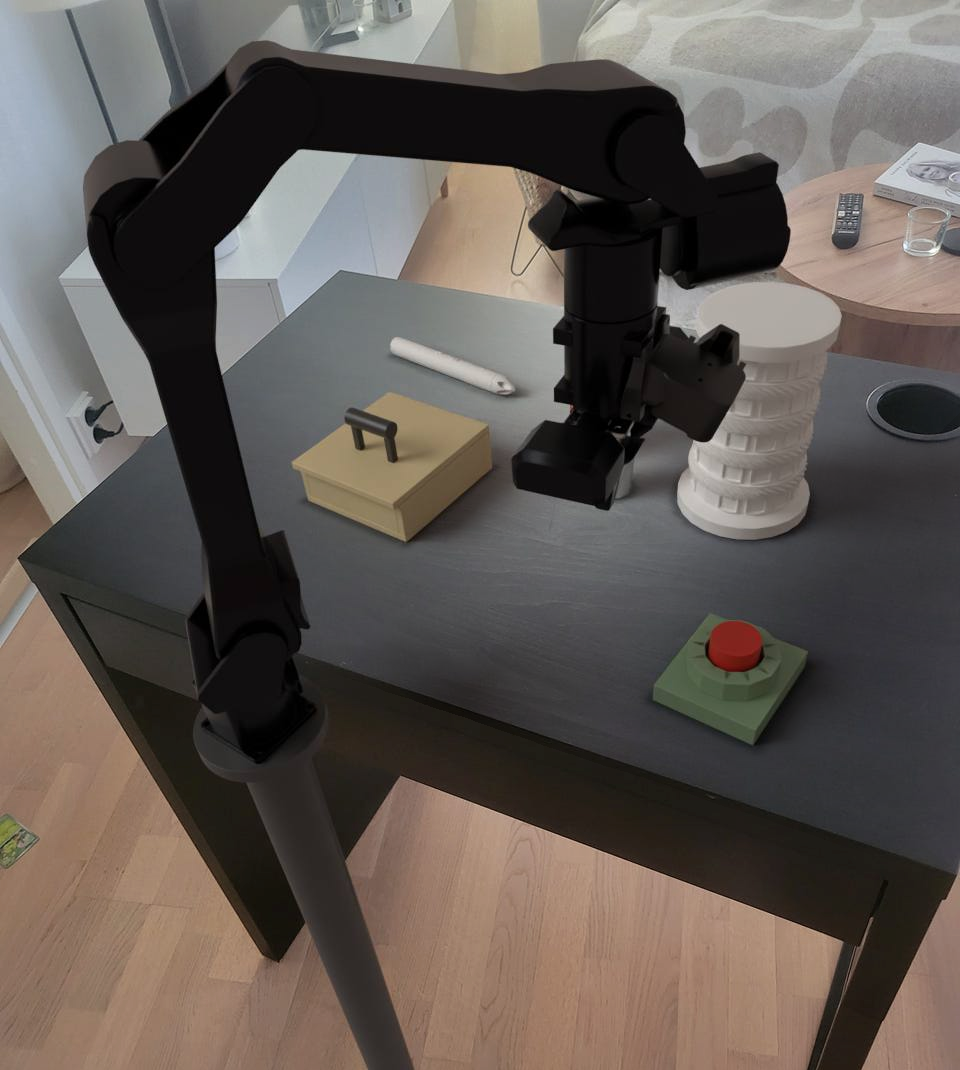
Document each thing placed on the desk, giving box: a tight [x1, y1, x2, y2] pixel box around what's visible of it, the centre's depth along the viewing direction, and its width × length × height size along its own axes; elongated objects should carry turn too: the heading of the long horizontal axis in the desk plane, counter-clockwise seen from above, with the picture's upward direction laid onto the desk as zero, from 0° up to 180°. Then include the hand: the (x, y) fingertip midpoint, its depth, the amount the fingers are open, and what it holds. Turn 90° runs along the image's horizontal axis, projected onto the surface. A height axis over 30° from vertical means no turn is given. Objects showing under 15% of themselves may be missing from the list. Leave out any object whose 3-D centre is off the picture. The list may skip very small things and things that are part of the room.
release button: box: [708, 621, 762, 672], centre depth 68 cm, size 4×4×2 cm
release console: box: [652, 612, 809, 746], centre depth 70 cm, size 9×8×4 cm
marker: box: [389, 336, 516, 396], centre depth 105 cm, size 18×2×2 cm, turn 49°
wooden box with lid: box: [291, 391, 490, 509], centre depth 88 cm, size 14×12×5 cm
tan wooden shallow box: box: [300, 430, 493, 543], centre depth 91 cm, size 13×12×4 cm
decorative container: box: [676, 281, 843, 541], centre depth 80 cm, size 12×12×18 cm
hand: (604, 507), depth 69 cm, fingers closed
